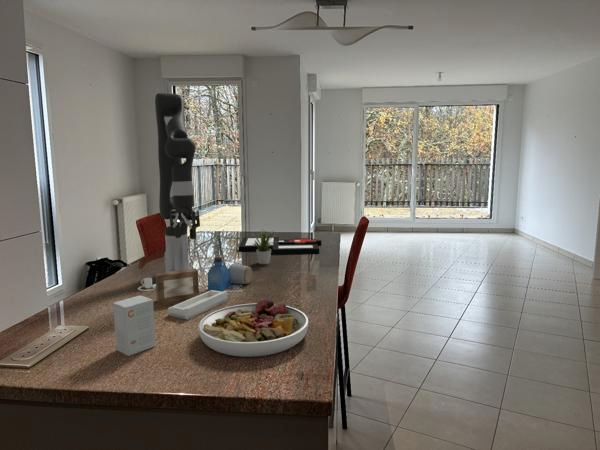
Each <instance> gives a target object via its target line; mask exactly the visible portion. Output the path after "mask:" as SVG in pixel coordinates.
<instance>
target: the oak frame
mask: <svg viewBox="0 0 600 450" xmlns="http://www.w3.org/2000/svg"><path fill="white" fill-rule="evenodd" d="M154 274H155V275H154V278H155V284H156V289H155V290H156V293H155V294H156V302H157V303H158V305H162V304H168V303H174V302H182V301H186V300H189V299H191V298H193V297H196V296H198V295H200V290H199V289H200V286H199V270H198V269H196V268H189V269H186V270H178V271H170V272H166V271H163V272H155V273H154Z"/></svg>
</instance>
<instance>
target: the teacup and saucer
mask: <svg viewBox="0 0 600 450" xmlns="http://www.w3.org/2000/svg"><path fill="white" fill-rule="evenodd" d="M140 283H141V286H139V287H138V288H137V290H138V291H142V292H143V291H144V292H147V291H148V292H149V291H153V290H156V283H155V284H153V277H144V278H143V279H141V280H140ZM142 288H145V289H142Z"/></svg>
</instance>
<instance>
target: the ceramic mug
mask: <svg viewBox="0 0 600 450" xmlns="http://www.w3.org/2000/svg"><path fill="white" fill-rule="evenodd" d="M227 268H228V269H229V271H230V284H236V285H237V284H239V285H249V284H250V283H251V282H252V279H253V269H252V267H250V266H247V265H242V264H237V263H231V264H230V265H229V267H227Z"/></svg>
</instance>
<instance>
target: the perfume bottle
mask: <svg viewBox="0 0 600 450" xmlns="http://www.w3.org/2000/svg"><path fill="white" fill-rule="evenodd" d="M223 263H224V260H223V256H216V257H213V264H214V265H212V266H210V269H209V270H208V272H207V290H208V291H210V290H214V291H220V292H223V291H227V289H229V288H231V283H230V271H229V269H228V268H229V267H228V266H227V265H225V264H224V265H223Z"/></svg>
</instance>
